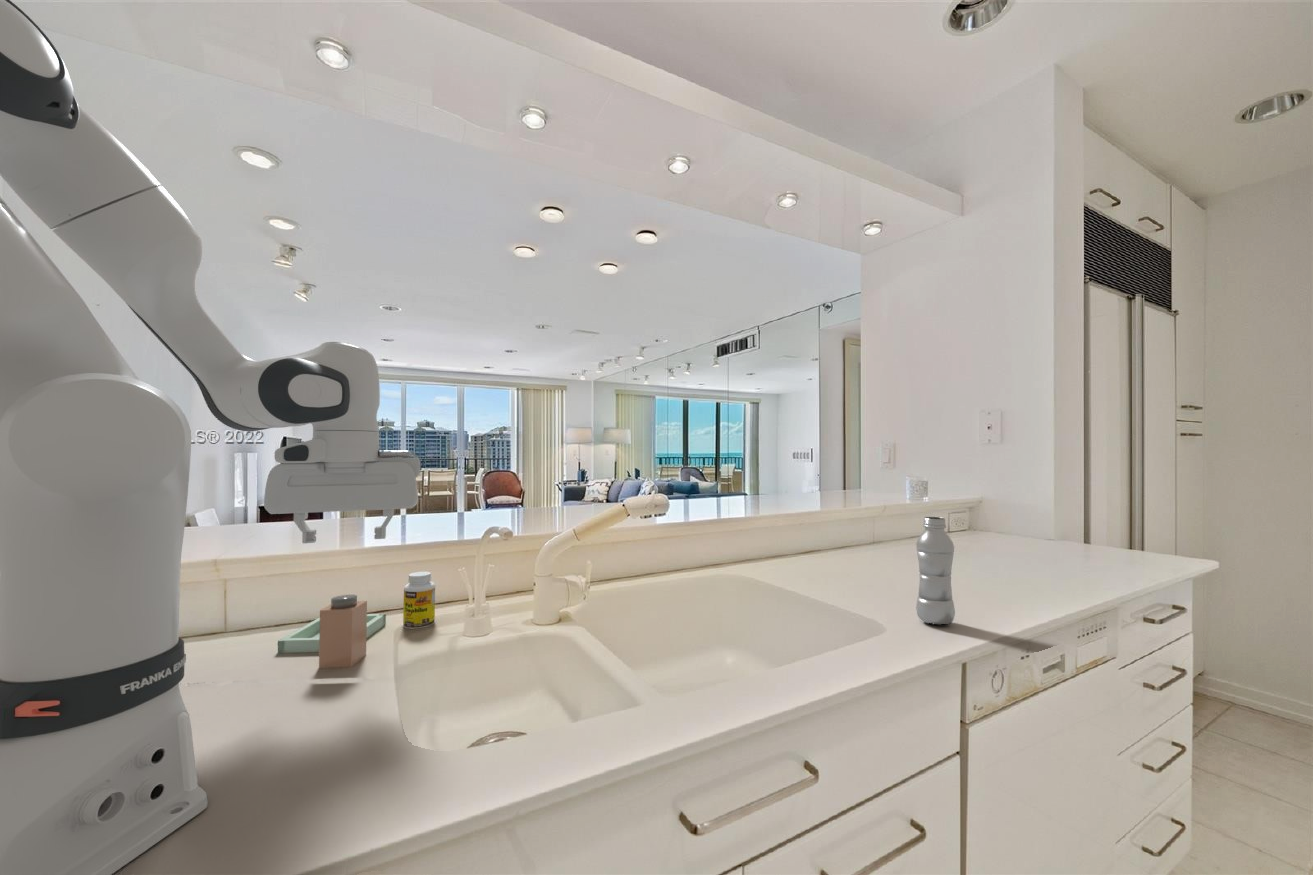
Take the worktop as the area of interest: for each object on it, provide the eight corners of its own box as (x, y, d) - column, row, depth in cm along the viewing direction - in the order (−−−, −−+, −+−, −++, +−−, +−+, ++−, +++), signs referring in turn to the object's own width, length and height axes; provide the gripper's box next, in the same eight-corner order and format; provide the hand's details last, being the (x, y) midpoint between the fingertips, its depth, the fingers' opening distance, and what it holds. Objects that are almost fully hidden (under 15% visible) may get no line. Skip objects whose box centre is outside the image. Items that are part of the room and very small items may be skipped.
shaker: (351, 670, 78) (352, 601, 78) (318, 671, 77) (320, 602, 78) (366, 658, 82) (367, 593, 83) (335, 659, 82) (336, 593, 82)
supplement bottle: (398, 632, 94) (399, 577, 94) (408, 622, 99) (409, 570, 100) (429, 631, 95) (430, 576, 95) (438, 621, 100) (438, 570, 100)
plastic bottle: (908, 621, 101) (907, 516, 101) (932, 616, 104) (931, 515, 104) (938, 631, 95) (937, 520, 96) (963, 626, 98) (962, 519, 98)
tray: (349, 654, 84) (350, 639, 84) (277, 656, 83) (277, 640, 83) (385, 627, 97) (385, 613, 97) (323, 628, 96) (323, 615, 96)
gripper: (421, 450, 88) (420, 533, 87) (273, 450, 80) (272, 541, 79) (420, 450, 82) (419, 539, 81) (261, 450, 74) (259, 549, 74)
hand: (345, 540), depth 80 cm, fingers open, 8 cm apart
